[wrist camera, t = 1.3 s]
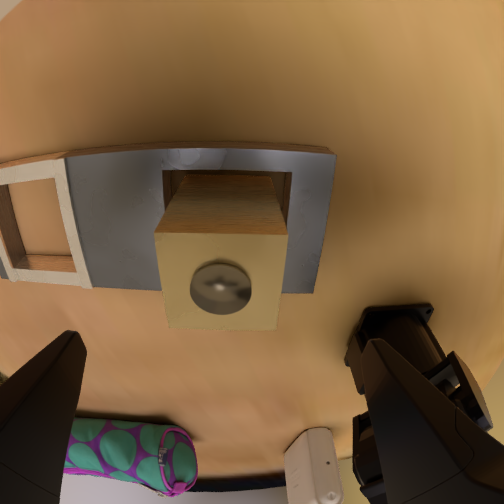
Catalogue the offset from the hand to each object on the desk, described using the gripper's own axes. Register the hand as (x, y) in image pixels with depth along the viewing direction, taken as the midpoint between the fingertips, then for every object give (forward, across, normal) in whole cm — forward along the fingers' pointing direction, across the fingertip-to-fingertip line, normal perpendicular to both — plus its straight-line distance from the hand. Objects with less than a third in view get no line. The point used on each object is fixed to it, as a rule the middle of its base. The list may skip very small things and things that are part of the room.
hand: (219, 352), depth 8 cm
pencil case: (+10, +15, +29) cm, 34 cm away
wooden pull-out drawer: (+9, 0, 0) cm, 9 cm away
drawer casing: (+9, +6, 0) cm, 11 cm away
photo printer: (+10, -10, +32) cm, 35 cm away
